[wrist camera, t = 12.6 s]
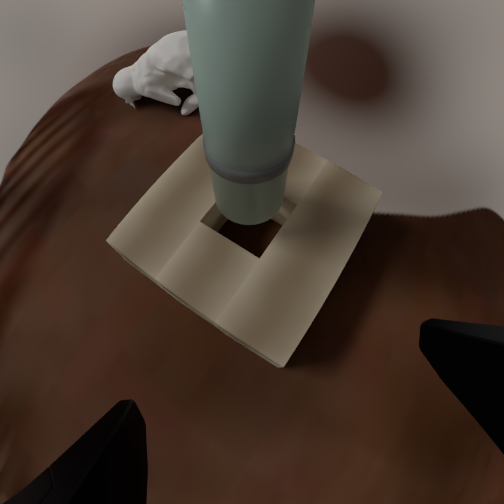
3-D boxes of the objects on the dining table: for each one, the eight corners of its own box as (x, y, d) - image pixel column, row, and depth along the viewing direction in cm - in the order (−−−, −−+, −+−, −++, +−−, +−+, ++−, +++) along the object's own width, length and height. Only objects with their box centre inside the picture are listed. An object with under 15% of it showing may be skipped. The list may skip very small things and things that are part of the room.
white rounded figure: (199, 47, 20) (84, 68, 22) (216, 118, 28) (115, 123, 30) (217, 18, 23) (111, 35, 24) (229, 81, 31) (135, 88, 32)
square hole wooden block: (365, 217, 24) (382, 192, 21) (277, 367, 20) (283, 367, 16) (228, 142, 27) (226, 111, 24) (126, 260, 23) (105, 240, 19)
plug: (297, 187, 18) (346, -51, 5) (259, 240, 17) (277, -40, 4) (240, 156, 19) (232, -67, 6) (199, 203, 18) (140, -44, 5)
